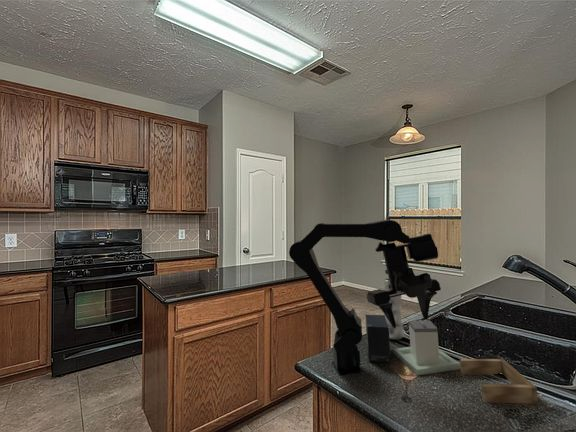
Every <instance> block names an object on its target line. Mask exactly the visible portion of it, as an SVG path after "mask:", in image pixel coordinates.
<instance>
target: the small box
mask: <svg viewBox="0 0 576 432" xmlns="http://www.w3.org/2000/svg"><path fill="white" fill-rule="evenodd" d="M364 316H365V333H366V350H367V351H366V352H367V359H368V362H374V363H391V347H390V346H391V345H390V339H389V327H388V324H387V321H386V318H385V315H384V314H382V315H381V314H364Z"/></svg>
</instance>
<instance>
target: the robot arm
mask: <svg viewBox="0 0 576 432" xmlns="http://www.w3.org/2000/svg"><path fill="white" fill-rule="evenodd" d="M402 229H403V228H402V226H401V224H400V223H399V222H397V221H395V220H393V219H382V220H378V221H372V222H367V223H324V222H320V223H317V224H316V225H315V226H314V227H313V229H312V230H311V231H309V233H308V234H307V235H306V236H305V237H303V239H301V240H300V239H299V240H297V241H296V242H294V243H292V245H290V248H289V251H288V255H289V258H290V259H291V260H292V261H293V262H294V264H295V265H296V266H297V267H298V268H299V269H301V270H302V271H303V272H304V273H305V274H306V275H307V277H308V278H309V280H310V281H311V283H312V284H313V287H315V290H316V291H317V293H318V294H319V296H320V297H321V299H322V301H323V302H324V303H325V306H326V307H327V308H328V310H329V312H330V313H331V315H332V317H333V319H334V323H335V326H336V329H337V330H336V331H335V332H334V338H333V339H334V340H333V344H332V348H333V349H332V351H333V361H332V365H333V367H334V369H335V370H336V372H337V373H338V375H345V374H352V373H361V372H362V368H361V367H360V366H361V352H360V350H359V349H358V347H359V346H358V344H360V343H361V341H362V339H363V324H362V319H361V317H359V316H358V314H357V312H356V309H354V308H352V309H351V310H349V308H347V307H346V306H345V305H344V303H343V301H342V300H341V298H340V297H339V295H338V294H337V292H336V291H335V289H334V287H333V286H332V285H331V282H330V281H329V279H328V278H327V276H326V275H325V273H324V272H323V270H322V269H321V267H320V265H319V263H318V259H317V256H316V253H315V252H314V249H313V248H314V247H315V246H316V245H317V244H318V243H319V242H320V241H322V240H323V238H368V239H373V240H377V241H380V242H378V245H377V246H376V248H375V249H374V250H375V252H377V253H379V252H380V253H381V252H382V253H383V258H384V263H385V267H386V269H385V271H384V272H385V274H386V275H387V276H388V278H389V281H390V285H388V286H389V289H391V290H389V291H385V290H383V289H381V288H379V289H378V288H377V289H374V290H370V291H368V292H367V293H366V298H367V303H370V304H372V305H375V306H377V307H378V308H379V309H380V311H382V312H383V315H384V314H385V316H386V317H387V319H388V320H389V322H390V323H391V325H392V326H393V327H394V328H396V323H395V319H394V315H393V312H392V303H389V301H390V298H392V297H396V296H400V295H401V296H403V295H406V296H407V297H408V298H409V299H410V298H411V299H414V298H417V302H418V304H419V305H418V306H419V308H420V312H421V315H422V318H423V319H424V321H428V318H429V311H430V304H431V300H432V299H433V297H434V296H437V294H438V292H439V291H441V290H442V287H441V284H440V282H439V281H438V280H437V279H434V278H432V277H431V274H429V273H428V272H424V273H421V274H418V275H416V274H415V273H414V270H413V268H412V267H410V265H409V262H408V261H409V260H412V259H413V261H414V263H418V262H425V261H430V260H431V261H432V260H436V259H439V251H438V247H437V246H436V243H435V241H434V239H433V236H432V234H431V233H425V234H422V235H416V236H411V237H410V236H409V235H408V234H406V233H405V232H403V230H402ZM381 241H383V242H388V243H384V244H383V243H382V242H381ZM395 242H398V243H401V244H399V245H398V244H397V245H396V243H395ZM406 253H407V254H406ZM407 257H408V258H407ZM408 259H409V260H408ZM397 292H398V293H397Z"/></svg>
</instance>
